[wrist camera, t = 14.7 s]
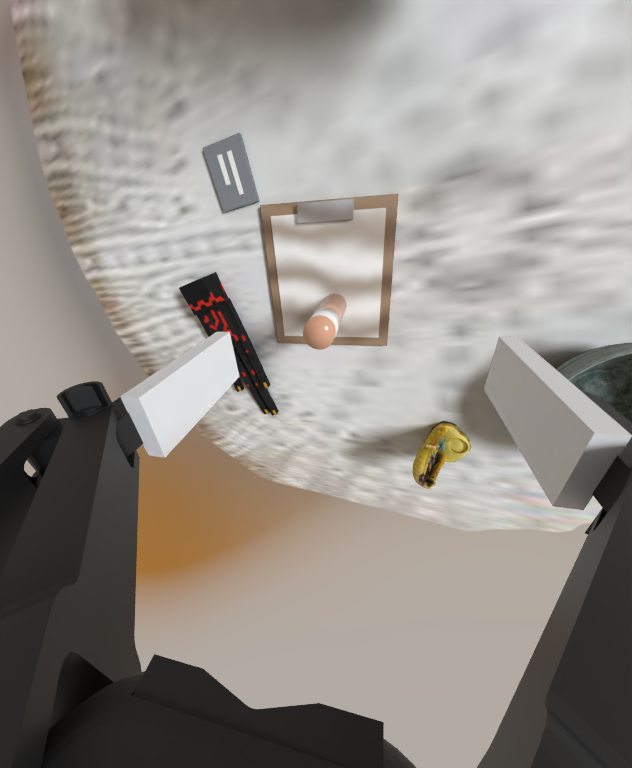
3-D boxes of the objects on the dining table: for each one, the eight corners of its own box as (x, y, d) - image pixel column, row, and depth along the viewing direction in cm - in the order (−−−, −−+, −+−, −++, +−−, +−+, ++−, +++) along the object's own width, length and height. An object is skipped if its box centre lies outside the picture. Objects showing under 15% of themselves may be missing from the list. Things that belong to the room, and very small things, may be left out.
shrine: (401, 439, 59) (405, 498, 46) (415, 409, 55) (425, 466, 42) (455, 454, 58) (475, 519, 45) (474, 425, 54) (502, 488, 41)
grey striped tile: (204, 149, 40) (202, 147, 40) (241, 134, 39) (238, 132, 38) (225, 212, 44) (223, 211, 43) (259, 201, 42) (257, 200, 42)
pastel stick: (322, 293, 46) (301, 318, 34) (347, 293, 45) (334, 318, 34) (323, 317, 48) (303, 349, 36) (346, 317, 47) (334, 350, 36)
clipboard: (262, 205, 42) (257, 205, 41) (398, 194, 38) (398, 193, 37) (279, 341, 53) (276, 344, 52) (386, 343, 49) (386, 347, 48)
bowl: (699, 384, 42) (777, 425, 34) (554, 449, 53) (586, 493, 44) (625, 290, 38) (694, 309, 30) (485, 380, 49) (506, 414, 41)
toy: (288, 402, 63) (221, 269, 49) (282, 417, 59) (207, 275, 45) (257, 409, 66) (185, 284, 52) (249, 423, 62) (168, 292, 48)
